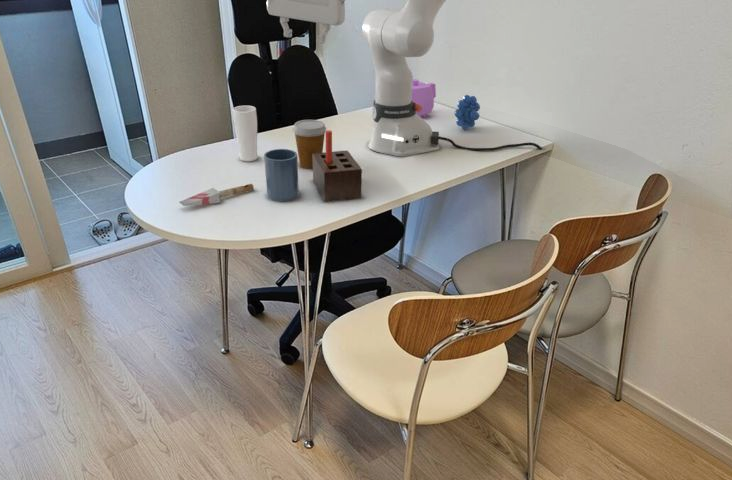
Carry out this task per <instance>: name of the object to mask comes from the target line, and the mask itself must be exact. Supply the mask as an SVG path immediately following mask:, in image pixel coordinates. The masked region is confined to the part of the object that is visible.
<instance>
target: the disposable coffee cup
mask: <svg viewBox="0 0 732 480" xmlns="http://www.w3.org/2000/svg"><path fill="white" fill-rule="evenodd" d="M292 131H293V134H294V137H295V144H296V149H297V150H296V151H297V157H298V162H299V166H300V167H301V168H304V169H310V170H311V169H313V157H312V154H313V153H324V152H323V151H324V144H325V143H324V142H325V136H326V131H327V127H326V125H325V122H323V121H321V120H318V119H302V120H297V121H296V122H295V123H294V125H293V127H292Z"/></svg>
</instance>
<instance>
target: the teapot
mask: <svg viewBox="0 0 732 480" xmlns="http://www.w3.org/2000/svg"><path fill="white" fill-rule="evenodd" d="M436 89H437V88H436V83H434V82H429V83H425V82H422V81H419V79H417V78H413V83H412V97H411V101H413V102H414V103H416V104H419V105H420V106H421V107H422V110H420V111H421V112H417V111H416V114H417V115H418V116H420V117H421V118H428V115H427V114H431V113H432V112H433V109H434V107H435V101H434V100H435V99H436V96H437V92H436V91H437V90H436Z"/></svg>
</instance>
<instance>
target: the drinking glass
mask: <svg viewBox="0 0 732 480" xmlns="http://www.w3.org/2000/svg"><path fill="white" fill-rule="evenodd" d="M232 120H233V127H234V131H235V138H236V143H237V148H238V149H237V150H238V154H239V159H240V160H241V161H243V162H254V161H256V160H257V159H258V156H259V155H258V115H257V108H256V107H255V106H253V105H237V106H235V107H233V108H232Z"/></svg>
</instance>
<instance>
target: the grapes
mask: <svg viewBox="0 0 732 480" xmlns="http://www.w3.org/2000/svg"><path fill="white" fill-rule="evenodd" d="M477 101H478V98H477V97H476V96H474V95H471V96H470V95H469V94H464V95H463V97H462V99H459V100H458V101H457V104H456V106H457V109H456V110H455V111H454V116H455V117H456V120H455V124H456V125H457V126H458V127H461V129H462V130H464V131H465V130H468V129H469V128H470V129H471V128H474V127H475V125H476V121H478V120H479V119H480V114H479V111H480V109H481V105H480V103H479V102H477Z"/></svg>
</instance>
